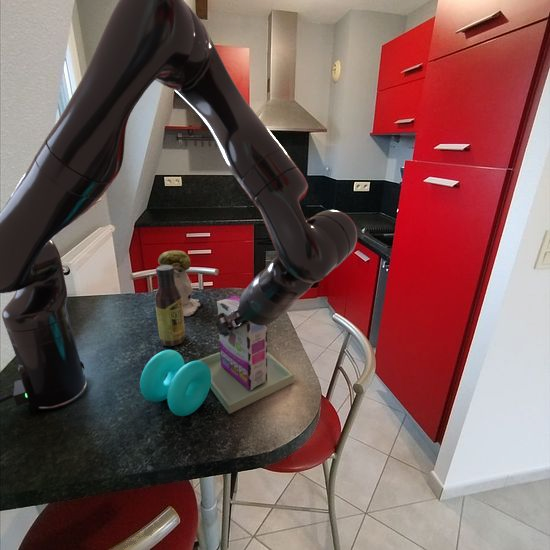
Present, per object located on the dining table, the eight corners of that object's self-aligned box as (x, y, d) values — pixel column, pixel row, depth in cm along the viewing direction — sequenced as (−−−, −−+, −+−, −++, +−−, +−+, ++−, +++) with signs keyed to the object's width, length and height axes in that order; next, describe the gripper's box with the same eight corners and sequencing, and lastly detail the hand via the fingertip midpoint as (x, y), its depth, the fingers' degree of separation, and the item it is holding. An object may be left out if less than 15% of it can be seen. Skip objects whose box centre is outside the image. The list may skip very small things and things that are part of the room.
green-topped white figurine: (156, 303, 102) (148, 247, 95) (197, 297, 106) (192, 243, 99) (157, 320, 92) (147, 260, 85) (202, 313, 96) (196, 255, 89)
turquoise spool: (179, 430, 56) (173, 385, 53) (140, 409, 61) (132, 366, 57) (216, 395, 64) (212, 353, 61) (179, 378, 69) (174, 339, 65)
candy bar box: (269, 381, 67) (268, 312, 61) (250, 393, 64) (247, 321, 58) (238, 357, 75) (235, 293, 69) (219, 366, 72) (215, 300, 66)
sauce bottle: (178, 349, 79) (169, 274, 72) (155, 346, 80) (143, 271, 73) (190, 335, 85) (182, 264, 78) (168, 332, 86) (159, 262, 79)
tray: (229, 414, 60) (228, 405, 59) (195, 368, 72) (195, 361, 71) (293, 382, 68) (293, 374, 67) (253, 346, 80) (253, 339, 79)
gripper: (293, 268, 59) (259, 302, 72) (221, 285, 51) (198, 320, 64) (311, 304, 56) (272, 333, 70) (239, 329, 49) (211, 356, 62)
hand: (237, 327), depth 67 cm, fingers open, 5 cm apart
